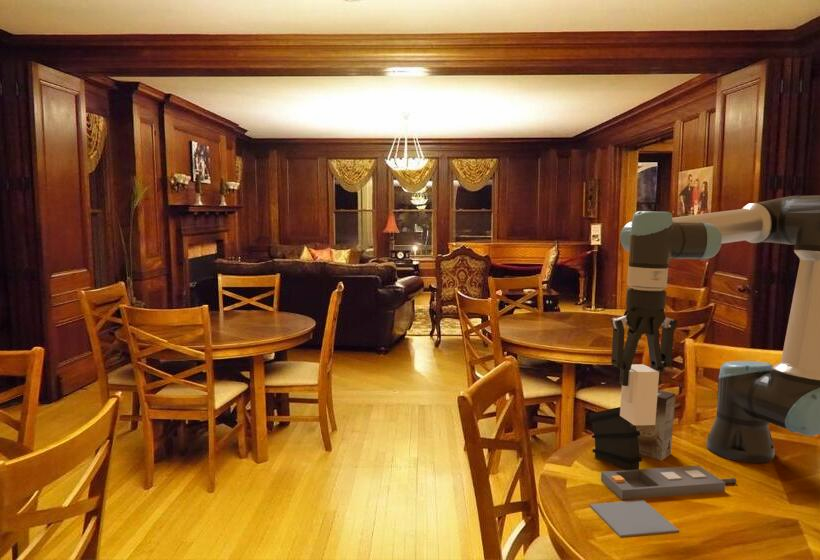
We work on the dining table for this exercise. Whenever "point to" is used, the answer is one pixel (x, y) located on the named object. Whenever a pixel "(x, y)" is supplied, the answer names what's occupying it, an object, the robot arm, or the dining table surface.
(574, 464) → the dining table surface
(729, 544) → the dining table surface
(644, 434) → the coffee box
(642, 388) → the beige rectangular block
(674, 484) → the power strip
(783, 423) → the robot arm
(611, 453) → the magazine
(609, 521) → the slate mat
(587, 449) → the dining table surface
